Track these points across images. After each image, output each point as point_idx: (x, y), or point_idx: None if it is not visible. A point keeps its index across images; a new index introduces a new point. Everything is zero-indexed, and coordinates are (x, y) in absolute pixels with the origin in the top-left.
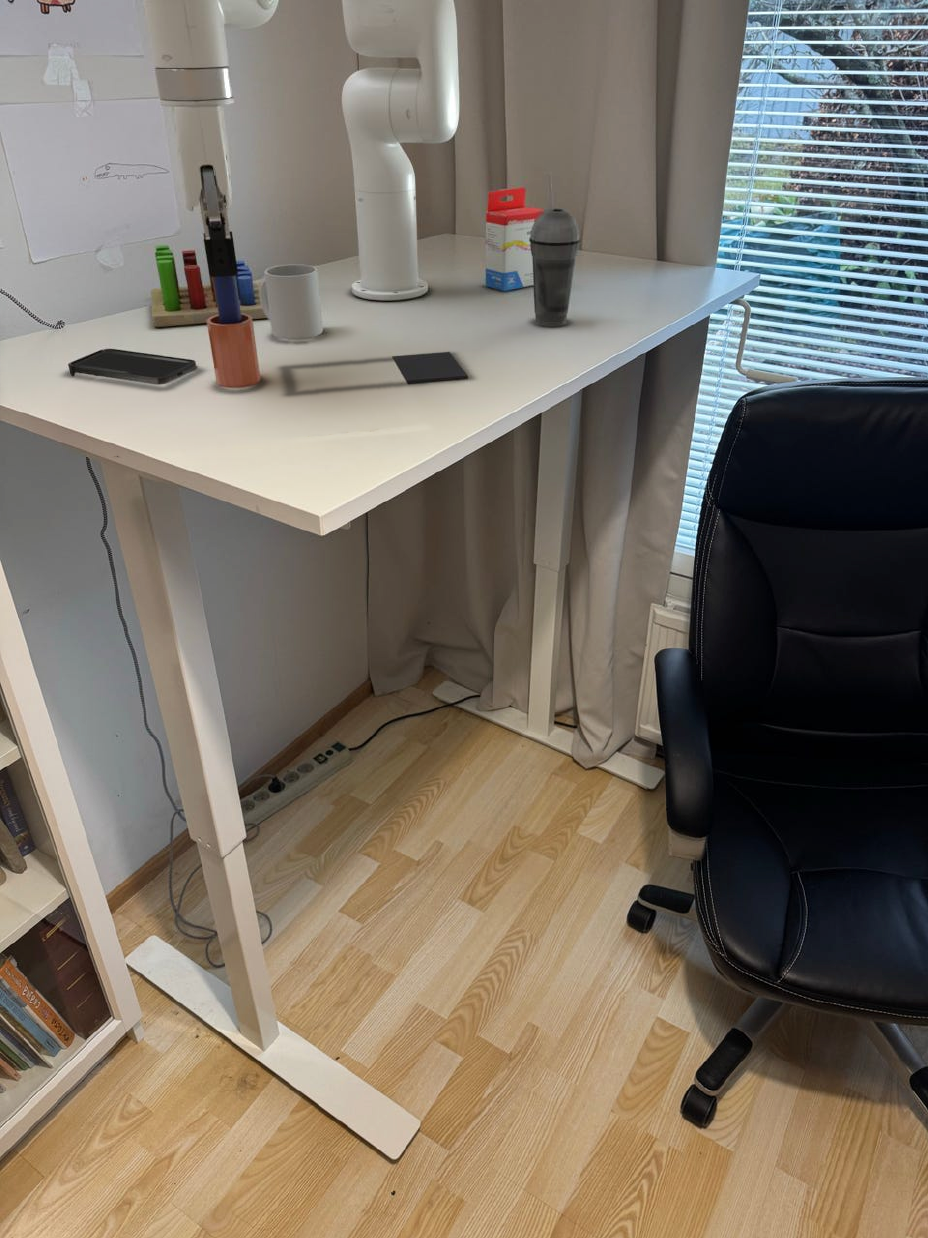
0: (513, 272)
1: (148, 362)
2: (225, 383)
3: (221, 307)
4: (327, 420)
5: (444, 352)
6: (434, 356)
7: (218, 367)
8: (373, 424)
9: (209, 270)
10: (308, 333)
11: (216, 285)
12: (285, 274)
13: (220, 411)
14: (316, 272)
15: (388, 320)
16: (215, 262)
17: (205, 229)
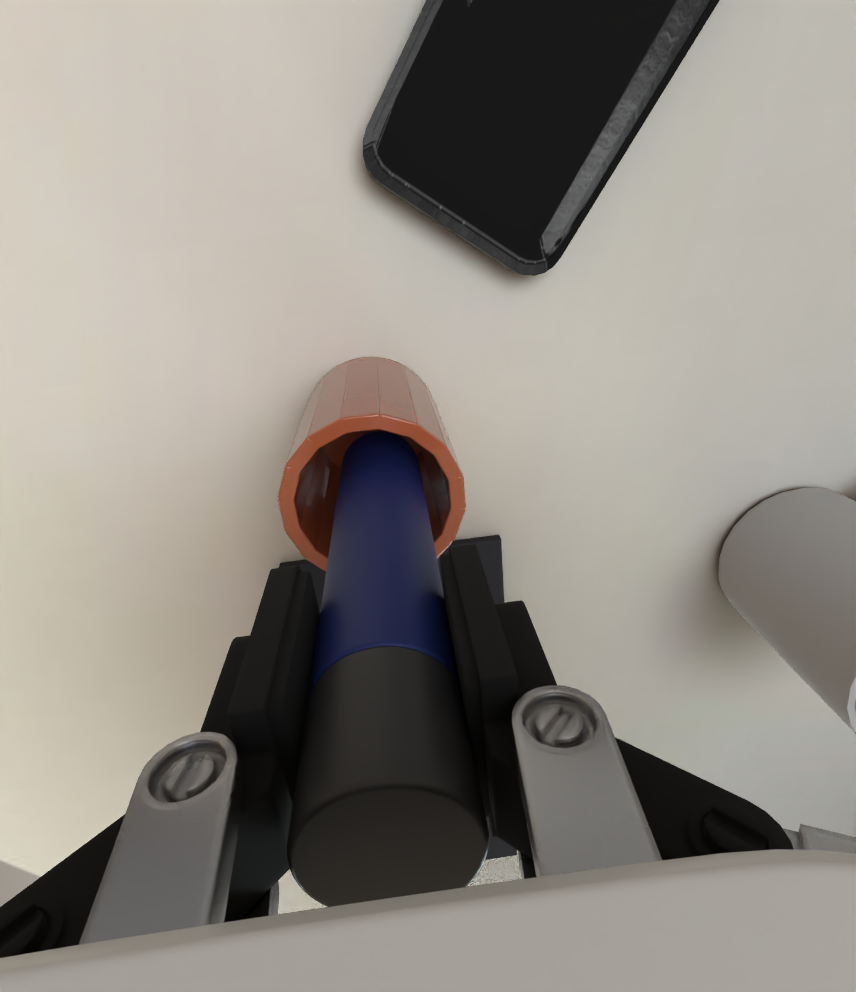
0: None
1: (579, 75)
2: (310, 396)
3: (340, 509)
4: (86, 648)
5: (512, 847)
6: (489, 832)
7: (318, 393)
8: (68, 732)
9: (268, 585)
10: (728, 594)
11: (340, 549)
12: None
13: (139, 387)
14: None
15: (820, 744)
16: (225, 660)
17: (123, 830)
